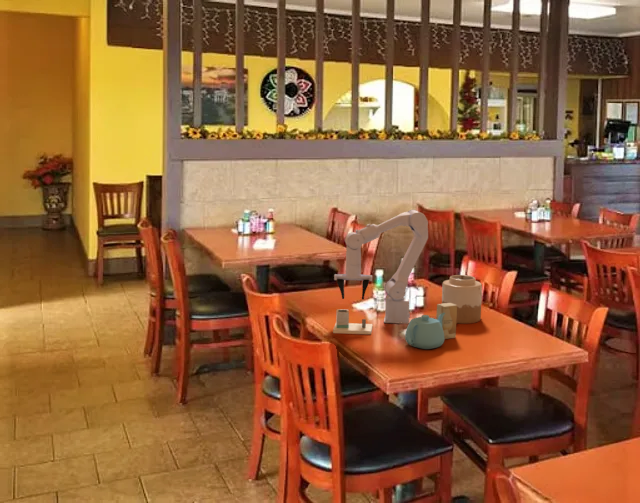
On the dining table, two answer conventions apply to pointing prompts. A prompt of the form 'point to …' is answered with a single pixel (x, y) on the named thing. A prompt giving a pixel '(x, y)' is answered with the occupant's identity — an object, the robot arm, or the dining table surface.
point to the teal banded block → (342, 318)
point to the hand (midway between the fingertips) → (353, 298)
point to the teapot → (425, 332)
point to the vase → (463, 297)
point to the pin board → (355, 328)
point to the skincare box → (448, 319)
